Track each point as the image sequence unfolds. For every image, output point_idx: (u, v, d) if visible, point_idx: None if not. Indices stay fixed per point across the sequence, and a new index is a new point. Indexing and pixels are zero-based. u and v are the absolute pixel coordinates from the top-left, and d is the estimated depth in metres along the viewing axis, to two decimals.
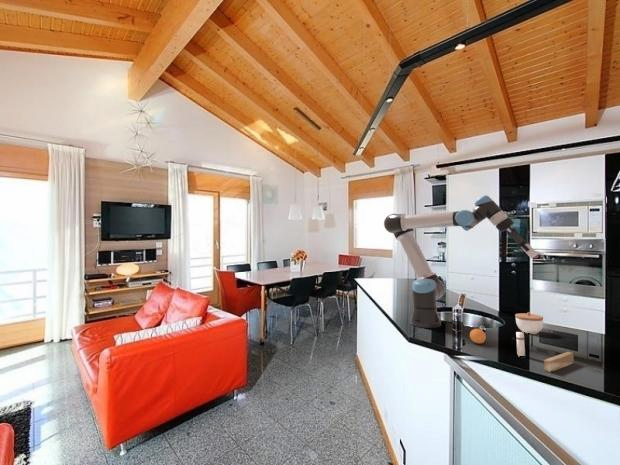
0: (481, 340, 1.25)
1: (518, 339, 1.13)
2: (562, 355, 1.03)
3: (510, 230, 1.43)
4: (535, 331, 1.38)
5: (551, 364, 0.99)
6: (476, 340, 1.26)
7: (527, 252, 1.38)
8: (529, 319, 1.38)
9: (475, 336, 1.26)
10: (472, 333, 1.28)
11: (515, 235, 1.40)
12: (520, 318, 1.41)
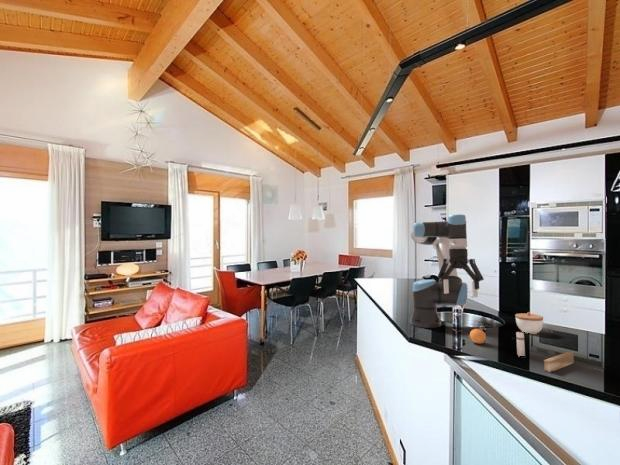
0: (481, 340, 1.25)
1: (518, 339, 1.13)
2: (562, 355, 1.03)
3: None
4: (535, 331, 1.38)
5: (551, 364, 0.99)
6: (476, 340, 1.26)
7: None
8: (529, 319, 1.38)
9: (475, 336, 1.26)
10: (472, 333, 1.28)
11: None
12: (520, 318, 1.41)
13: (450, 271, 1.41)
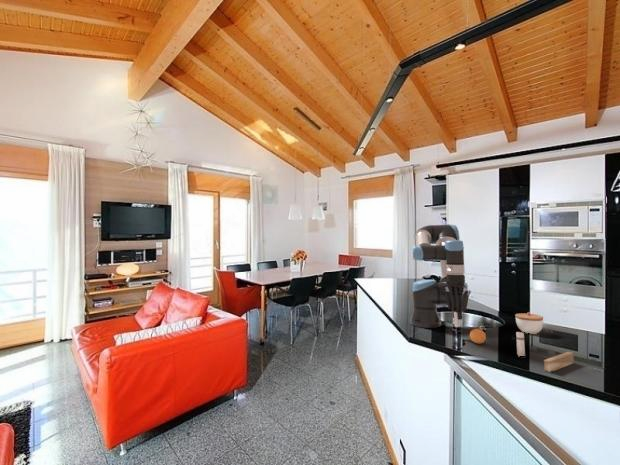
0: (481, 340, 1.25)
1: (518, 339, 1.13)
2: (562, 355, 1.03)
3: None
4: (535, 331, 1.38)
5: (551, 364, 0.99)
6: (476, 340, 1.26)
7: None
8: (529, 319, 1.38)
9: (475, 336, 1.26)
10: (472, 333, 1.28)
11: None
12: (520, 318, 1.41)
13: (455, 299, 1.38)
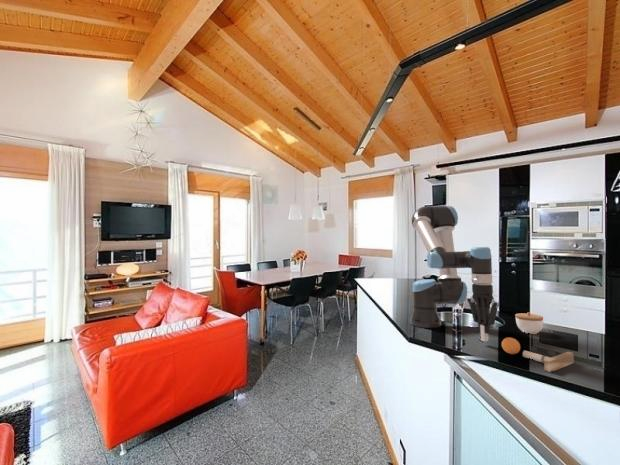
0: (508, 339, 1.15)
1: (541, 360, 1.06)
2: (562, 355, 1.03)
3: None
4: (535, 331, 1.38)
5: (551, 364, 0.99)
6: (508, 344, 1.14)
7: None
8: (529, 319, 1.38)
9: (504, 345, 1.15)
10: (504, 349, 1.15)
11: None
12: (520, 318, 1.41)
13: (481, 311, 1.27)
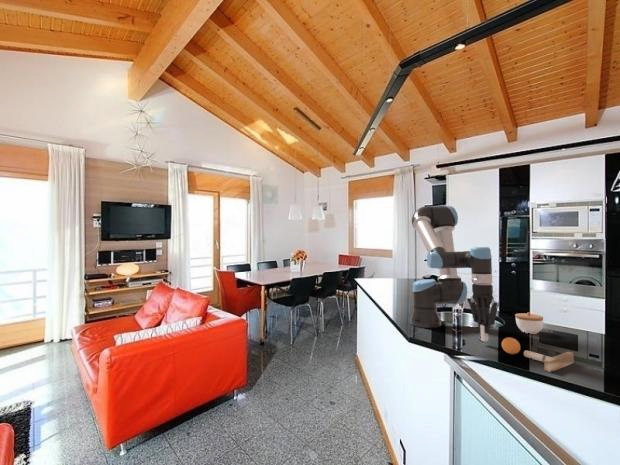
0: (508, 339, 1.15)
1: (542, 358, 1.06)
2: (562, 355, 1.03)
3: None
4: (535, 331, 1.38)
5: (551, 364, 0.99)
6: (508, 344, 1.14)
7: None
8: (529, 319, 1.38)
9: (504, 345, 1.15)
10: (504, 349, 1.15)
11: None
12: (520, 318, 1.41)
13: (481, 311, 1.27)
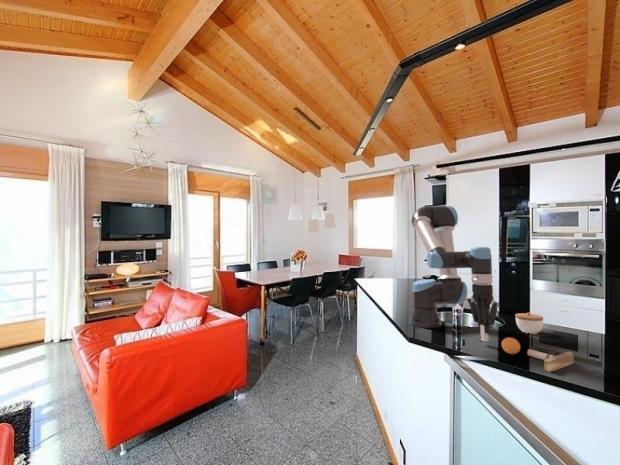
0: (508, 339, 1.15)
1: None
2: (562, 355, 1.03)
3: None
4: (535, 331, 1.38)
5: (551, 364, 0.99)
6: (508, 344, 1.14)
7: None
8: (529, 319, 1.38)
9: (504, 345, 1.15)
10: (504, 349, 1.15)
11: None
12: (520, 318, 1.41)
13: (481, 311, 1.27)
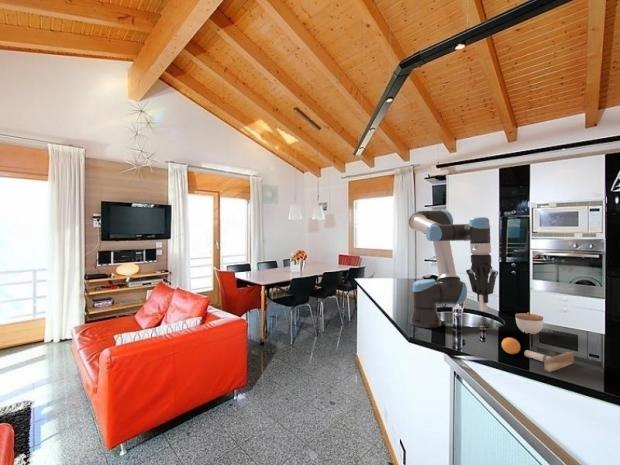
0: (508, 339, 1.15)
1: (543, 357, 1.06)
2: (562, 355, 1.03)
3: None
4: (535, 331, 1.38)
5: (551, 364, 0.99)
6: (508, 344, 1.14)
7: None
8: (529, 319, 1.38)
9: (504, 345, 1.15)
10: (504, 349, 1.15)
11: None
12: (520, 318, 1.41)
13: (480, 281, 1.27)
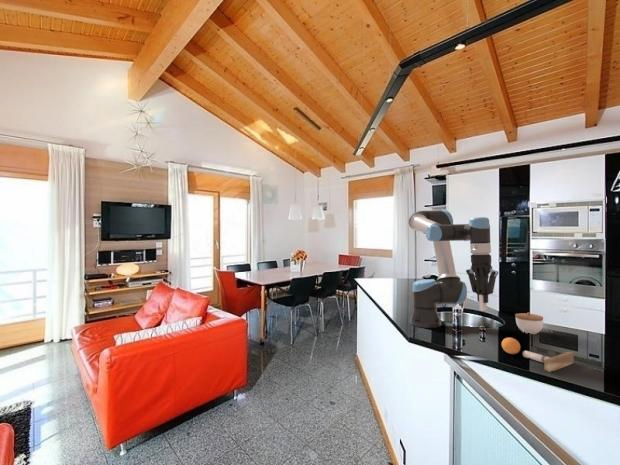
0: (508, 339, 1.15)
1: (541, 360, 1.06)
2: (562, 355, 1.03)
3: None
4: (535, 331, 1.38)
5: (551, 364, 0.99)
6: (508, 344, 1.14)
7: None
8: (529, 319, 1.38)
9: (504, 345, 1.15)
10: (504, 349, 1.15)
11: None
12: (520, 318, 1.41)
13: (480, 281, 1.27)
